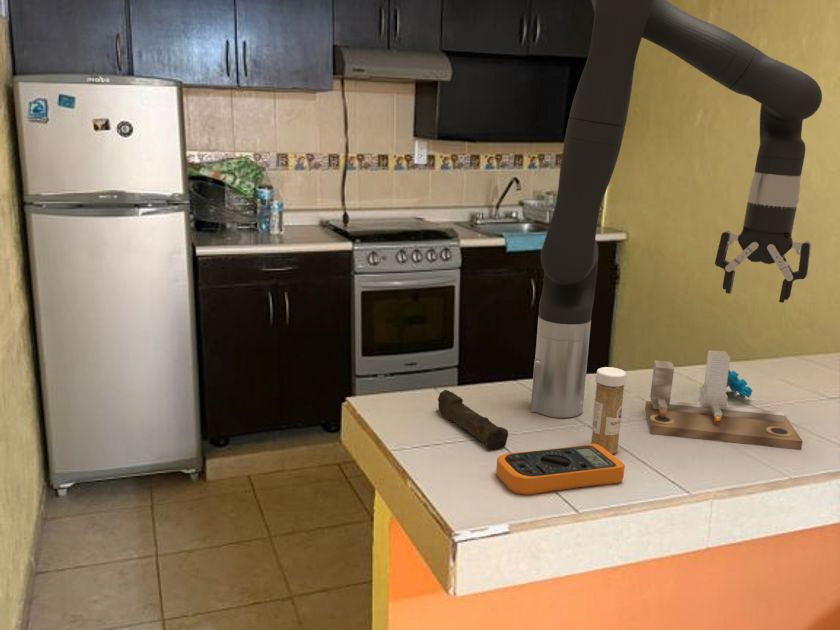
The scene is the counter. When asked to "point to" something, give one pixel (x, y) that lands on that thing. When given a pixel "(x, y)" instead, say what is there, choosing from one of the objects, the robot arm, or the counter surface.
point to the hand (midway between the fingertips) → (754, 297)
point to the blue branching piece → (737, 384)
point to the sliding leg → (715, 383)
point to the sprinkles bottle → (608, 408)
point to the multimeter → (559, 469)
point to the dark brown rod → (471, 421)
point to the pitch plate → (700, 420)
